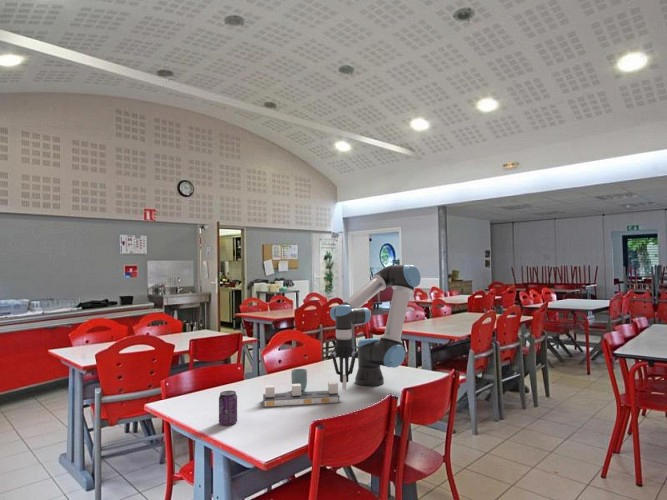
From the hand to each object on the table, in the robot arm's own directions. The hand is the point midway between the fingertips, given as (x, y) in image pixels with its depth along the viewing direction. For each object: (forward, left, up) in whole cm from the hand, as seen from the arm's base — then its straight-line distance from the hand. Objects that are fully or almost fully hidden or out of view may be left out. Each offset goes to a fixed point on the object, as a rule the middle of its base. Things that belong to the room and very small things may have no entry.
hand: (344, 389), depth 208 cm
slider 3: (+5, 0, -1) cm, 5 cm away
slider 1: (+34, 0, -1) cm, 34 cm away
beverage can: (+51, +23, -5) cm, 56 cm away
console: (+20, 0, -5) cm, 21 cm away
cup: (+19, -19, -5) cm, 28 cm away
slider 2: (+22, 0, -1) cm, 22 cm away
